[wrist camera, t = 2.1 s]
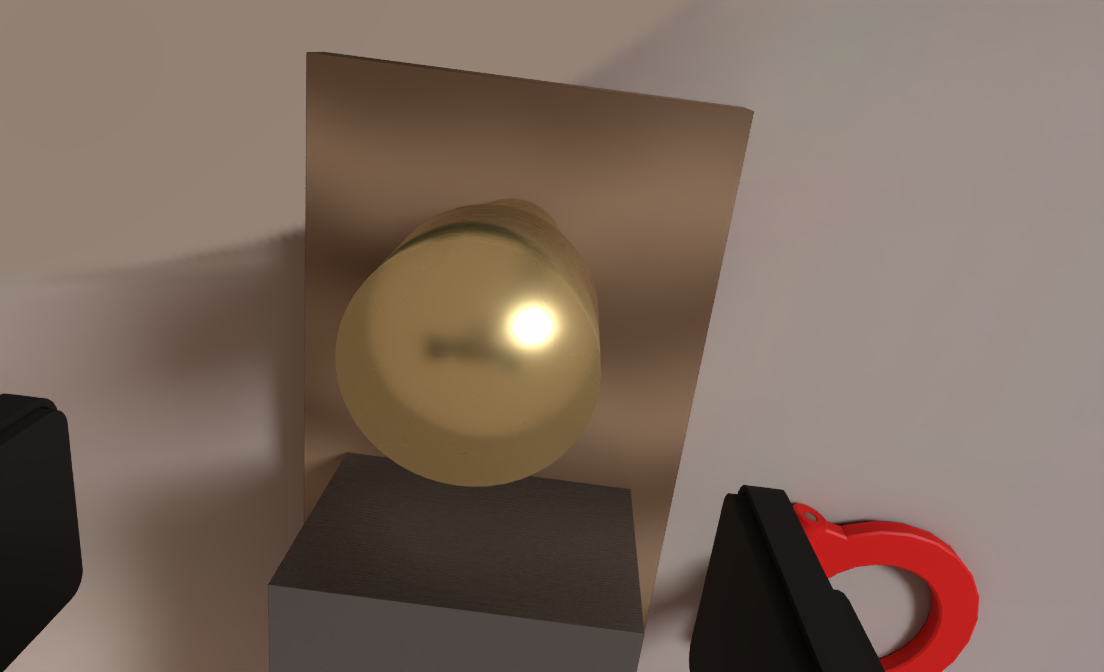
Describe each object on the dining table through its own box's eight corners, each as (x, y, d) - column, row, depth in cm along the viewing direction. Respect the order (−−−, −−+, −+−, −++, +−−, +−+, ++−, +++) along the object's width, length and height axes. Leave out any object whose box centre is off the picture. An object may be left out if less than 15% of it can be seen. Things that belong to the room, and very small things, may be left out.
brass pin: (435, 154, 23) (337, 224, 14) (607, 177, 23) (619, 261, 14) (424, 316, 25) (332, 469, 16) (583, 337, 25) (581, 501, 16)
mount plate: (323, 52, 23) (306, 52, 22) (743, 107, 23) (753, 111, 22) (315, 675, 32) (302, 704, 31) (618, 715, 32) (620, 745, 31)
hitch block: (346, 452, 27) (267, 585, 20) (630, 488, 27) (644, 633, 20) (340, 671, 30) (272, 844, 24) (590, 703, 30) (591, 885, 24)
